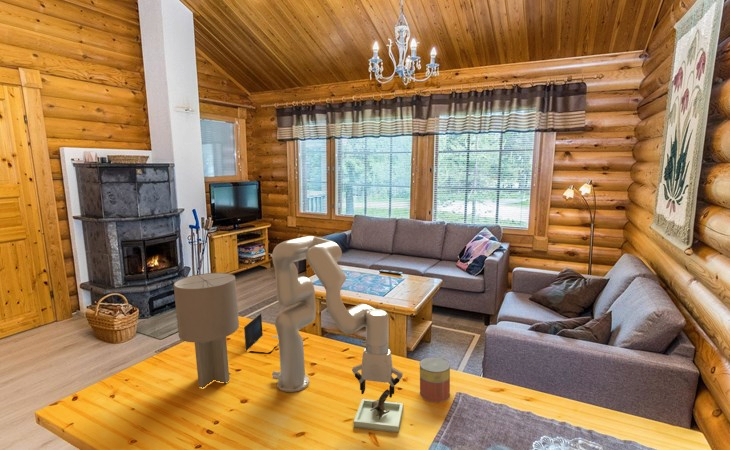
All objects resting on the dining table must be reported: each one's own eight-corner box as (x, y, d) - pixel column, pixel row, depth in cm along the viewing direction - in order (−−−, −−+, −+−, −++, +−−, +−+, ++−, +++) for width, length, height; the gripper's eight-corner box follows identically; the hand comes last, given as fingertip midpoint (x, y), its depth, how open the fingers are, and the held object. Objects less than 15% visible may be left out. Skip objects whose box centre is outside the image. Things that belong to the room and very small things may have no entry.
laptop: (270, 354, 184) (268, 328, 182) (245, 353, 186) (243, 327, 184) (284, 338, 201) (283, 314, 199) (262, 336, 204) (260, 313, 202)
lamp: (170, 389, 156) (159, 285, 150) (212, 362, 177) (204, 270, 171) (215, 400, 147) (205, 291, 141) (254, 371, 168) (247, 274, 162)
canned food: (427, 382, 156) (427, 354, 154) (454, 391, 149) (454, 361, 148) (414, 396, 147) (414, 366, 145) (442, 406, 140) (442, 374, 138)
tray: (353, 427, 130) (353, 421, 130) (362, 404, 142) (362, 398, 142) (398, 432, 127) (398, 426, 126) (403, 408, 139) (403, 403, 139)
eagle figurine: (396, 417, 132) (394, 393, 140) (384, 406, 129) (383, 383, 136) (377, 424, 134) (376, 401, 142) (365, 414, 131) (365, 391, 139)
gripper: (349, 349, 129) (349, 396, 132) (401, 354, 125) (400, 403, 128) (354, 339, 136) (355, 384, 139) (404, 344, 133) (403, 390, 135)
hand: (377, 393), depth 134 cm, fingers open, 9 cm apart
